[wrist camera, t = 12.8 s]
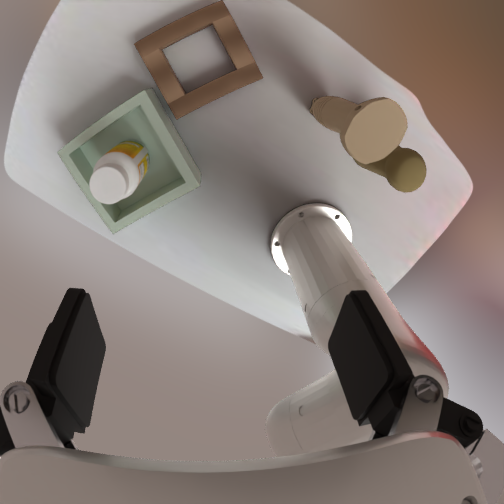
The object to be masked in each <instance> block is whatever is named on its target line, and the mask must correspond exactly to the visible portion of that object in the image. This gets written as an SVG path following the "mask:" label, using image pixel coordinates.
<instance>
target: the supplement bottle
mask: <svg viewBox="0 0 504 504" xmlns="http://www.w3.org/2000/svg"><path fill="white" fill-rule="evenodd" d="M149 166H150V154H149V152H148V150H147V148H146V147H145V146H144V145H143V144H142V143H140V142H137V141H134V140H125V141H122V142H120V143H119V144H117V145H116V146H115V147H113V148H112V149H111V150H110V151H108V152H107V153H106V154H105V155H103V156H102V157H101V158H100V159H99V160H98V161H97V163H96V165H95V167H94V170H93V174H92V176H91V178H90V182H89V186H90V191H91V193H92V195H93V196H94V198H95V199H96V200H98V201H99V202H101V203H104V204H114V203H117V202H118V201H120V200H121V199H125V198H127V197H129V196H130V195H131V194H132V193H133V192H134V191H135V190H136V188H137V187H138V185H139V184H140V182H141V180H142V179H143V177H144V176H145V174H146V173H147V171H148V169H149Z"/></svg>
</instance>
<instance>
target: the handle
mask: <svg viewBox="0 0 504 504" xmlns="http://www.w3.org/2000/svg"><path fill="white" fill-rule="evenodd" d="M310 113H311V114H313V115H314V117H315V118H316V120H317V121H318V122H319V123H320V124H322V125H323V126H325V127H326V128H328V129H330V130H332V131H335V132H338V133H340V139H341V143H342V145H343V147H344V148H345V150H346V151H347V152H348V153H349V155H350V156H352V157H353V158H354V159H356V160H357V161H358V162H360V163H363V164H369V163H372V162H376V161H379V160H381V159H383V158H385V157H386V156H388V155H389V154H390V153H391V152H392V151H393V150H394V149H395V148H396V147H397V146H398V145H399V144H400V142H401V140H402V138H403V136H404V134H405V132H406V130H407V119H406V116H405V113H404V112H403V110H402V108H401V107H400V106H399V105H398V104H397V103H396V102H395V101H393V100H391V99H389V98H385V97H381V98H375V99H371V100H368V101H365V102H363V103H361V104H359V105H357V104H355V103H353V102H350V101H348V100H346V99H343V98H339V97H334V96H325V97H321V98H315V99H313V100H312V107H311V108H310Z"/></svg>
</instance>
